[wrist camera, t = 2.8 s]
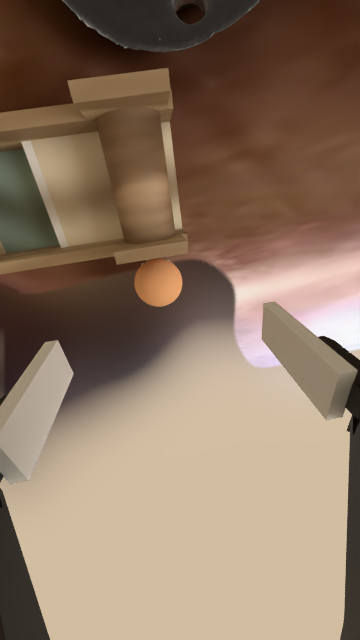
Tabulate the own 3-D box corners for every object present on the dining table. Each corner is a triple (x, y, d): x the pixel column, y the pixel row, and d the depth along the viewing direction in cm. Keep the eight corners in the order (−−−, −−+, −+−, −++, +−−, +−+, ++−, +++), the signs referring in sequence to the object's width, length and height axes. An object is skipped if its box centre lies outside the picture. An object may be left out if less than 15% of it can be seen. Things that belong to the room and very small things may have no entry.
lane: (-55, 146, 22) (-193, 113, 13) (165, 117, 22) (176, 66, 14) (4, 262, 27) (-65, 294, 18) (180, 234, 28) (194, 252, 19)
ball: (131, 257, 25) (127, 270, 21) (176, 250, 25) (181, 261, 21) (140, 298, 27) (139, 318, 23) (181, 291, 28) (188, 309, 23)
